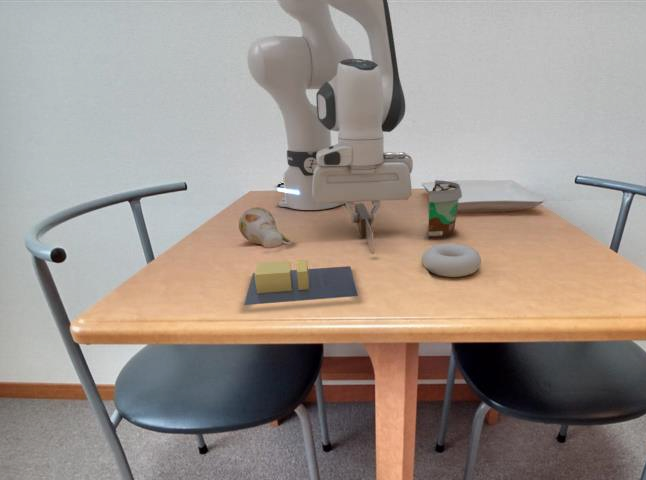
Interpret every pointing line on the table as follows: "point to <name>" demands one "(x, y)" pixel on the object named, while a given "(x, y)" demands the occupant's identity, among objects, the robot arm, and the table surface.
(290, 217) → the table surface
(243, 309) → the table surface
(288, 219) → the table surface
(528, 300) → the table surface
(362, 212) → the knife
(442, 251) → the donut
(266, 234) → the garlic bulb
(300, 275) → the butter slice
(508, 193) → the square plate
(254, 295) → the butter dish
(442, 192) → the food container
